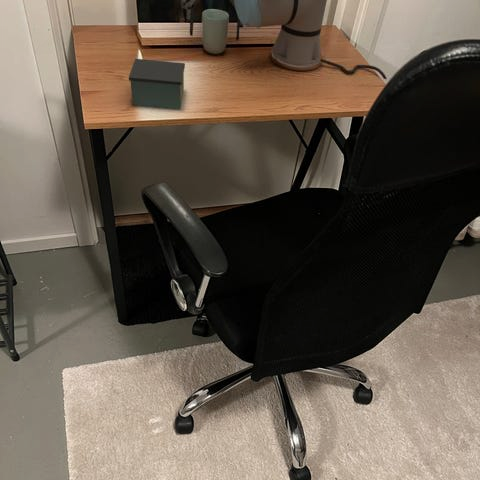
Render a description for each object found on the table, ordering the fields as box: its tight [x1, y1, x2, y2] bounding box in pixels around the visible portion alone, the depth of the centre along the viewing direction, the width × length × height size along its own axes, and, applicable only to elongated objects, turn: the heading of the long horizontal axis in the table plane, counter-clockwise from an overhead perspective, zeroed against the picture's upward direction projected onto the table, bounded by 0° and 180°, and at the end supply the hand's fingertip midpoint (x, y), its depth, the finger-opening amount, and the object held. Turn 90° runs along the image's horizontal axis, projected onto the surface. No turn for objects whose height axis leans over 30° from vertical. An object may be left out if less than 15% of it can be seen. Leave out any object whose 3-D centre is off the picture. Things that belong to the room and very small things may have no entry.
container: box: [128, 58, 186, 110], centre depth 117 cm, size 13×11×7 cm
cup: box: [201, 8, 230, 55], centre depth 137 cm, size 8×8×10 cm
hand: (214, 36), depth 136 cm, fingers open, 13 cm apart
